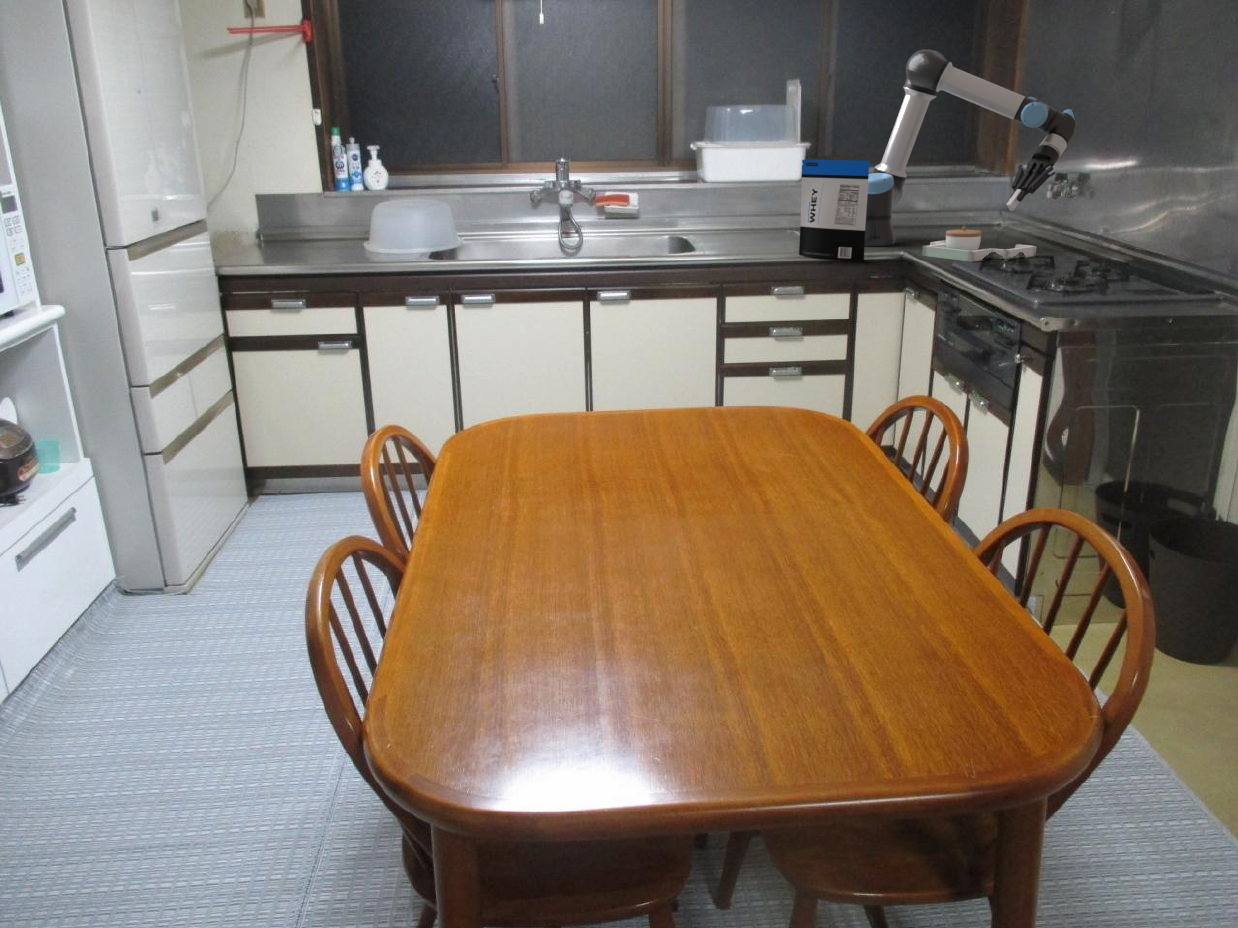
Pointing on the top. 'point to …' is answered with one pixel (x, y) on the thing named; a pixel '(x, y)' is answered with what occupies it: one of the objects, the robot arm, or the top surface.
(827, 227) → the protein powder
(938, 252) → the box
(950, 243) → the lidded jar
